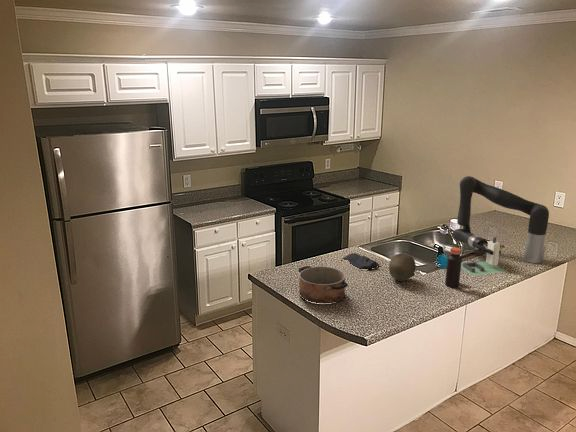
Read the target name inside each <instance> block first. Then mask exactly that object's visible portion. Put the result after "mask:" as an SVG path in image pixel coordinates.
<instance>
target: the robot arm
mask: <svg viewBox="0 0 576 432" xmlns="http://www.w3.org/2000/svg"><path fill="white" fill-rule="evenodd" d="M473 193H475V194H478V195H480V196H482V197H483V198H485V199H486V200H488V201H490V202H491V203H494V204H495V205H498V206H500V207H502V208H505V209H510V210H514V211H515V210H516V211H519V212H522V213H524V214H527V215H528V216H529V221H528V228H527V235H526V240H525V241H526V243H525V248H524V253H523V254H524V256H523V260H524V261H525V262H527V263H530V264H541V263H542V262H544V258H545V251H546V246H545V241H546V235H547V230H548V223H549V218H550V210H549V209H548V207H547V206H545V205H544V204H542V203H541V204H540V203H537V202H533V201H531V200H528V199H525V198H524V197H521V196H519V195H517V194H514V193H512V192H510V191H507V190H505V189H503V188H499V187H497V186H493V185H490V184H487V183H485V182H482V181H481V180H479V179H477V178H475V177H473V176H471V175H469V176H468V175H467V176H464V177H463V178H462V179H460V182H459V195H460V197H459V207H458V213H457V221H456V223H457V225H459V226H462V228H457V229H454V230H453V231H454V232H452V237H453V236H454V237H453V239H454V240H455V239H456V240H455V241H457V240H458V241H457V242H460V243H464V244H467V245H468V246H470V247H471V248H473V249H474V251H476V252H480V253H483V254H485V253H486V254H487V253H489V254H491V255H493V251H492V250H490V249H488V240H487V239H485V238H483V237H481V236H479V235H477V234H475V233H472V231H471V224H470V222H471V221H470V220H471V211H472V210H471V209H472V207H471V206H472V199H473V198H472V197H473ZM501 252H502V250H501V249H500V251H499V255H501V254H502V253H501Z"/></svg>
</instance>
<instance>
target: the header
mask: <svg viewBox="0 0 576 432" xmlns="http://www.w3.org/2000/svg"><path fill="white" fill-rule="evenodd" d="M462 264H463V267H464V268H466V269H467V270H469V271H470V272H475V268H472V267H471V266H475V267H476V268H478V269H479V270H480V271H484V267H482V266H481V265H479V264H477V262H475V261H473V262H472V261H471V262H463V263H462Z"/></svg>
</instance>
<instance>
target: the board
mask: <svg viewBox="0 0 576 432" xmlns="http://www.w3.org/2000/svg"><path fill="white" fill-rule="evenodd" d="M476 263H477V264H479V265H481V266H482V267H484V271H480V270H479V269H478V268H476V267H475V266H471V267H472V268H475V272H470V271H469V270H467V269H466V268H464V267H463V263H461V270H463V271H464V272H466V273H468V274H469V275H470V276H479V275H489V274H499V273H508V270H506V269H504V268H503V267H501V266H499V265H491V264H489V263H487V262H486V261H481V262H480V261H479V262H476Z"/></svg>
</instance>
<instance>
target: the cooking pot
mask: <svg viewBox="0 0 576 432" xmlns="http://www.w3.org/2000/svg"><path fill="white" fill-rule="evenodd" d="M298 275H299V276H298V277H299V278H298V279H299V281H298V282H299V283H298V284H299V287H298V289H299V291H298V292H299V293H300V295H301V297H303V298H304V299H306V300H308V301H311V302H316V303H333V302H338V301H340V300H341V299H342V300H343V299H344V298H345V296H346V294H345V293H346V288H347V287H348V286H349V283H347V282H346V274H345V273H344V272H343V271H342V270H340V269H338V268H335V267H330V266H311V265H306V266H302V267H300V268H298ZM299 293H298V294H299ZM300 295H299V296H300ZM301 297H300V298H301ZM342 300H341V301H342ZM341 301H340V302H341ZM338 303H339V302H338Z"/></svg>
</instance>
